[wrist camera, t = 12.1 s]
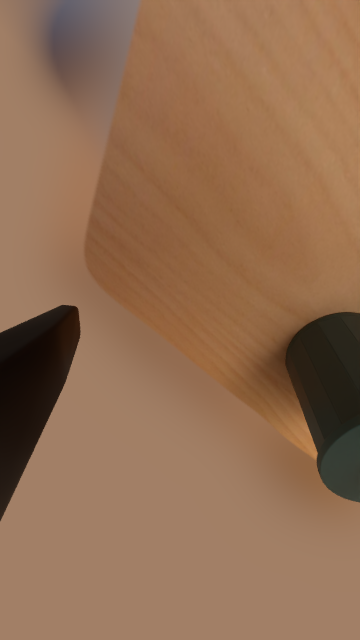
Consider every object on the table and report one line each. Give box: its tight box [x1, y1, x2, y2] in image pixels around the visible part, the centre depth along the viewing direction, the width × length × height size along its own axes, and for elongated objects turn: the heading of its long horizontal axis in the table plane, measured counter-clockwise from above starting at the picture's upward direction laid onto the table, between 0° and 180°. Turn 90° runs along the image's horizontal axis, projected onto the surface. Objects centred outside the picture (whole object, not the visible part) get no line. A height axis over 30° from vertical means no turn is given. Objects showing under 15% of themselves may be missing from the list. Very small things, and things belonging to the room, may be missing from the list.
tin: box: [285, 312, 360, 452], centre depth 22 cm, size 8×8×9 cm
